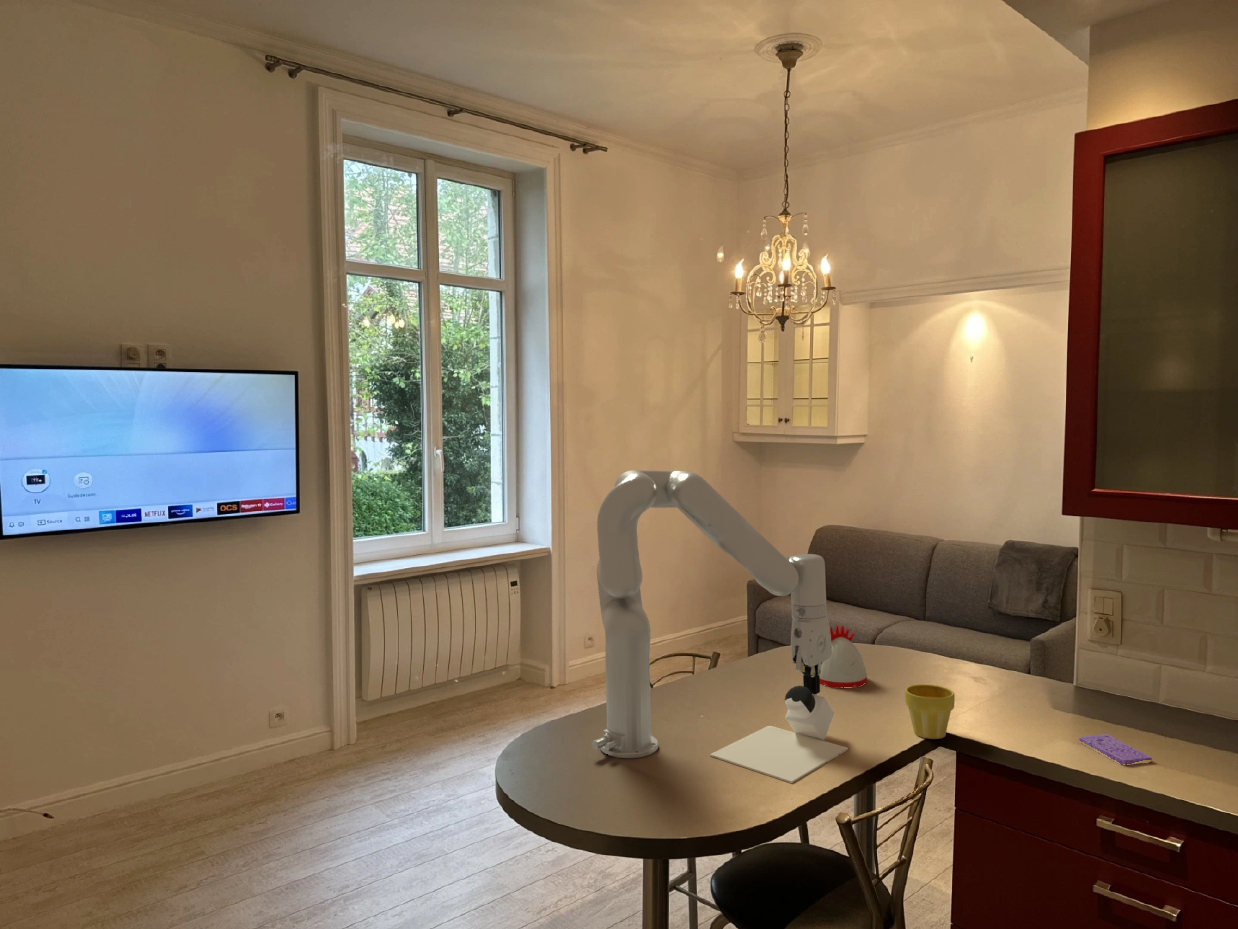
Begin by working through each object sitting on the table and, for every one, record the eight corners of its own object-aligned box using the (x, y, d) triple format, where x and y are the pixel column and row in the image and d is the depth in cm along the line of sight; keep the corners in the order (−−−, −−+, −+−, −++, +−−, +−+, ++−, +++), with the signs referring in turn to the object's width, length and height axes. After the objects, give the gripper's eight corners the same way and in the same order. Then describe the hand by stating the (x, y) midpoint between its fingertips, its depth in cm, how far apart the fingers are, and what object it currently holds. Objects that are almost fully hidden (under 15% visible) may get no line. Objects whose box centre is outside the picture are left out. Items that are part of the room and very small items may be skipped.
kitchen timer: (805, 674, 233) (804, 620, 232) (851, 670, 236) (851, 617, 235) (826, 690, 219) (826, 633, 218) (875, 686, 222) (875, 630, 221)
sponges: (1106, 742, 184) (1106, 733, 183) (1153, 765, 171) (1153, 756, 171) (1077, 745, 182) (1078, 736, 182) (1123, 768, 170) (1123, 759, 170)
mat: (791, 783, 165) (791, 781, 165) (710, 756, 179) (710, 754, 179) (848, 749, 181) (848, 748, 181) (769, 727, 195) (769, 725, 194)
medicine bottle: (806, 705, 193) (788, 678, 186) (834, 712, 189) (817, 685, 182) (795, 733, 190) (776, 707, 183) (824, 741, 185) (806, 715, 178)
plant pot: (910, 722, 196) (910, 680, 195) (957, 730, 191) (958, 687, 190) (900, 737, 187) (900, 694, 186) (949, 746, 182) (949, 701, 181)
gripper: (806, 620, 178) (809, 705, 179) (841, 606, 189) (844, 686, 190) (775, 615, 183) (778, 698, 185) (811, 602, 194) (814, 680, 195)
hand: (811, 692), depth 187 cm, fingers closed
